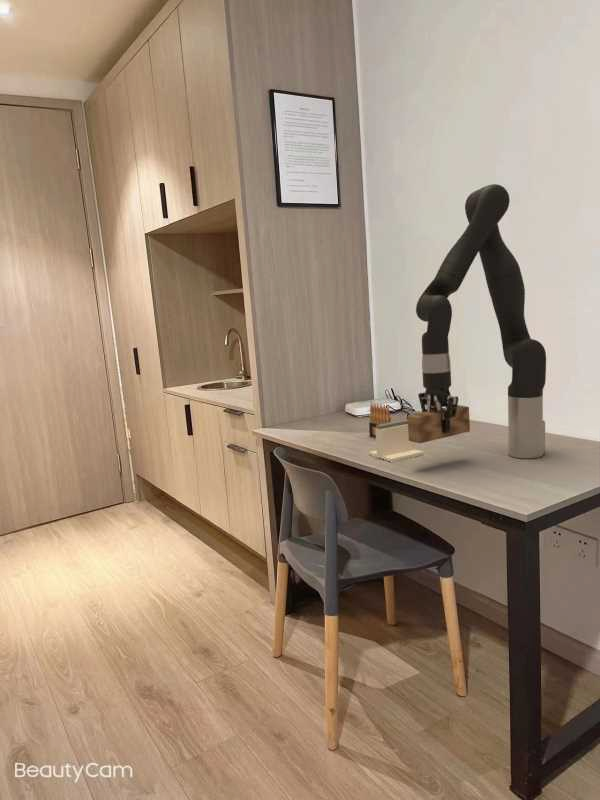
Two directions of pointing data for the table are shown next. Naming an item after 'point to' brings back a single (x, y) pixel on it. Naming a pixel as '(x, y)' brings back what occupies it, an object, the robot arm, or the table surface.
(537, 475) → the table surface
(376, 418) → the ammunition clip
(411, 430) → the walnut beam
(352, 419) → the table surface
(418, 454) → the ridge stand
